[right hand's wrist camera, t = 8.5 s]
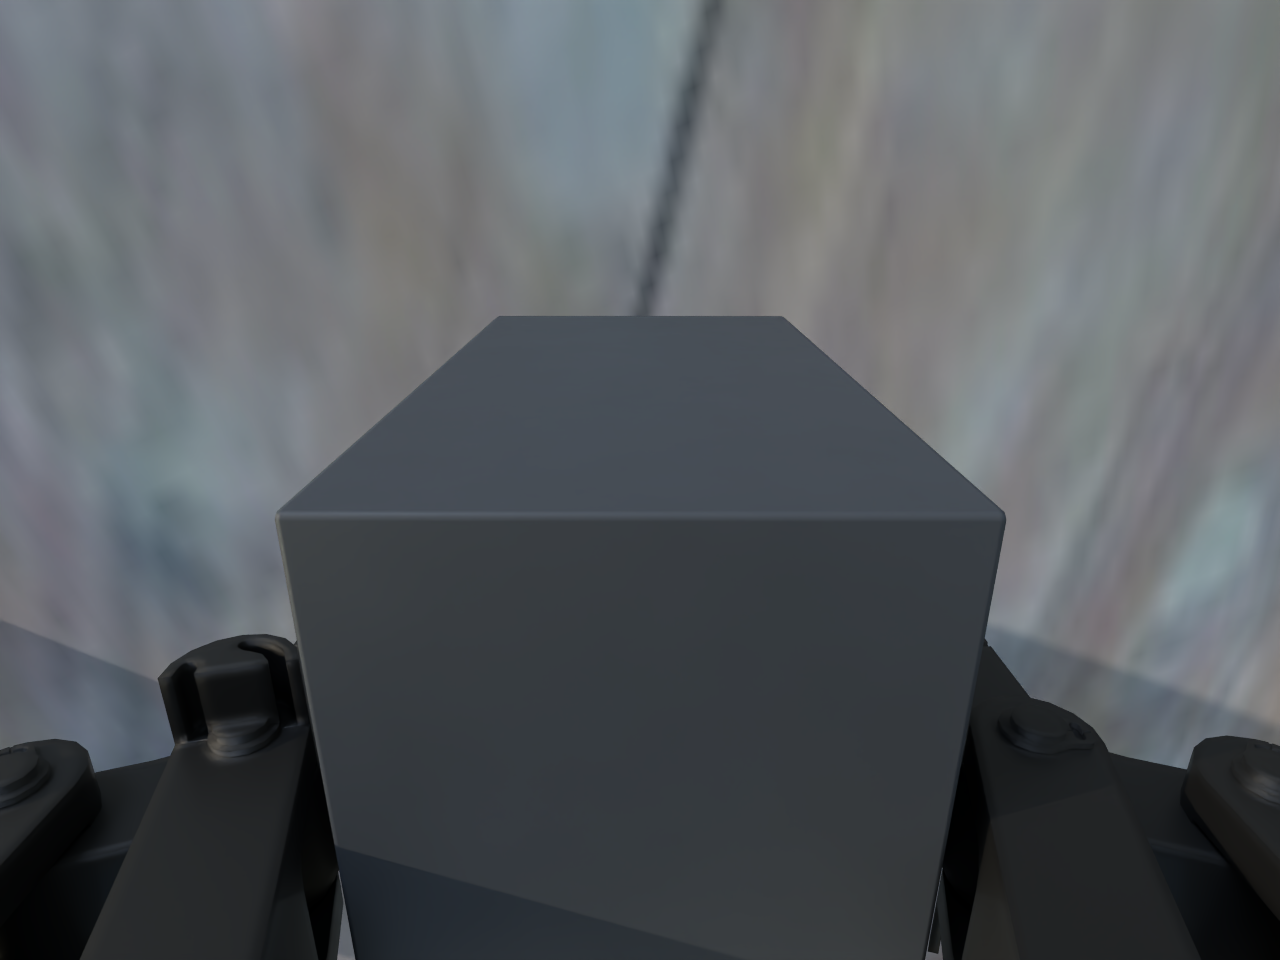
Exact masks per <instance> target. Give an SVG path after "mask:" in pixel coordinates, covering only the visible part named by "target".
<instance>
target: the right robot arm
mask: <svg viewBox="0 0 1280 960" xmlns="http://www.w3.org/2000/svg"><path fill="white" fill-rule="evenodd" d="M158 681H159V685H160V689H161V693H162V696H163V700H164V704H165V708H166V712H167V715H168V719H169V723H170V727H171V731H172V734H173V738H174V742H175V747H174V749H173V751H172V753H171V756H168V757H165V758H161V759H157V760H154V761H149V762H144V763H139V764H134V765H130V766H125V767H120V768H115V769H110V770H106V771H101V772H96V773H95V772H94V769H93V766H92V763H91V760H90V757H89V753H88V751H87V750H86V749H85V748H83V747H82V746H81V745H80V744H78V743H77V742H74V741H67V740H59V739H50V740H43V741H35V742H27V743H23V744H19V745H15V746H13V747H11V748H10V747H8V748H5V749H2V750H0V960H337V955H338V946H339V937H340V928H341V919H342V910H343V898H342V891H341V885H340V880H339V874H338V871H339V866H338V861H337V855H336V850H335V845H334V839H333V834H332V828H331V823H330V817H329V812H328V806H327V801H326V795H325V790H324V785H323V779H322V774H321V768H320V763H319V757H318V752H317V746H316V741H315V735H314V730H313V725H312V719H311V714H310V708H309V703H308V697H307V692H306V686H305V681H304V675H303V670H302V664H301V659H300V654H299V648H298V643H297V641H296V642H295V644H294V645H293V644H292V643H291V642H290V641H288V640H287V639H286V638H282V637H277V636H273V635H268V634H258V635H241V636H236V637H231V638H227V639H222V640H217V641H215V642H212V643H209V644H207V645H204V646H202V647H199V648H197V649H194V650H192V651H190V652H188V653H187V654H185V655H184V656H182V657H181V658H179V659H177V660H176V661H174V662H173V663H171V664H170V665H169V666H168V667H167V668H166V670H165V671H164V672H163V673H162V674H161V675H160V676H159V678H158ZM942 868H943V869H942V874H941V880H940V885H939V890H938V896H937V901H936V907H935V912H934V918H933V923H932V928H931V934H930V940H929V947H928V952H933V953H937V954H938V952H939V946H940V941H941V944H942V953H943V960H1280V746H1278V745H1275V744H1269V743H1268V742H1265V741H1260V740H1256V739H1249V738H1242V737H1234V736H1220V737H1213V738H1206V739H1204V740H1203V741H1202V742H1200V743H1199V744H1198V745H1197V746H1195V747H1194V749H1193V752H1192V756H1191V759H1190V762H1189V765H1188V768H1187V770H1186V769H1181V768H1177V767H1172V766H1167V765H1162V764H1157V763H1152V762H1148V761H1143V760H1138V759H1133V758H1128V757H1124V756H1121V755H1117V754H1113V753H1110V752H1108V750H1107V747H1106V745H1105V743H1104V742H1103V741H1102V739H1101V738H1100V737H1099V735H1098V734H1097V733H1096V731H1095V730H1094V729H1093V728H1092V727H1091V726H1090V725H1088V724H1087V723H1086V722H1084V721H1083V720H1082V719H1080V718H1079V717H1077V716H1076V715H1075V714H1073V713H1071V712H1069V711H1067V710H1065V709H1062V708H1060V707H1058V706H1056V705H1053V704H1051V703H1049V702H1045V701H1041V700H1037V699H1033V698H1030V697H1029V695H1028V694H1027V693H1026V692H1025V690H1024V689H1023V688H1022V686H1021V685H1020V684H1019V682H1018V681H1017V680H1016V679H1015V677H1014V676H1013V675H1012V673H1011V672H1010V671H1009V669H1008V668H1007V667H1006V666H1005V664H1004V663H1003V662H1002V660H1001V659H1000V658H999V656H998V655H997V654H996V653H995V651H994V650H993V649H992V647H988V645H987V641H986V640H985V638H984V643H983V649H982V654H981V659H980V665H979V670H978V676H977V681H976V686H975V692H974V697H973V703H972V708H971V713H970V719H969V724H968V730H967V735H966V740H965V746H964V751H963V757H962V762H961V767H960V773H959V778H958V784H957V789H956V794H955V800H954V805H953V811H952V816H951V821H950V827H949V832H948V838H947V843H946V848H945V854H944V859H943V865H942Z"/></svg>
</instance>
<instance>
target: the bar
mask: <svg viewBox="0 0 1280 960" xmlns="http://www.w3.org/2000/svg"><path fill="white" fill-rule="evenodd" d="M275 523H276V528H277V534H278V539H279V544H280V550H281V555H282V561H283V566H284V572H285V577H286V583H287V588H288V594H289V599H290V604H291V610H292V615H293V621H294V626H295V632H296V637H297V643H298V648H299V654H300V659H301V664H302V670H303V675H304V681H305V686H306V692H307V697H308V703H309V708H310V714H311V719H312V725H313V730H314V735H315V741H316V746H317V752H318V757H319V763H320V768H321V774H322V779H323V785H324V790H325V795H326V801H327V806H328V812H329V817H330V823H331V828H332V834H333V839H334V845H335V850H336V855H337V861H338V866H339V872H340V877H341V883H342V888H343V894H344V899H345V905H346V910H347V916H348V921H349V926H350V932H351V937H352V943H353V948H354V954H355V959H356V960H925V956H926V951H927V946H928V940H929V935H930V929H931V924H932V919H933V913H934V908H935V902H936V897H937V892H938V886H939V881H940V875H941V870H942V865H943V859H944V854H945V848H946V843H947V838H948V832H949V827H950V821H951V816H952V811H953V805H954V800H955V794H956V789H957V784H958V778H959V773H960V767H961V762H962V757H963V751H964V746H965V740H966V735H967V730H968V724H969V719H970V713H971V708H972V703H973V697H974V692H975V686H976V681H977V676H978V670H979V665H980V659H981V654H982V649H983V643H984V638H985V632H986V627H987V622H988V616H989V611H990V605H991V600H992V595H993V589H994V584H995V578H996V573H997V568H998V562H999V557H1000V551H1001V546H1002V541H1003V535H1004V530H1005V524H1006V516H1005V513H1004V511H1002V510H1001V509H1000V508H999V507H998V506H997V505H996V504H995V503H993V502H992V501H991V500H990V499H989V498H988V497H987V496H985V495H984V494H983V493H982V492H981V491H980V490H979V489H978V488H976V487H975V486H974V485H973V484H972V483H971V482H970V481H969V480H967V479H966V478H965V477H964V476H963V475H962V474H961V473H959V472H958V471H957V470H956V469H955V468H954V467H953V466H952V465H950V464H949V463H948V462H947V461H946V460H945V459H944V458H942V457H941V456H940V455H939V454H938V453H937V452H936V451H935V450H933V449H932V448H931V447H930V446H929V445H928V444H927V443H925V442H924V441H923V440H922V439H921V438H920V437H919V436H918V435H916V434H915V433H914V432H913V431H912V430H911V429H910V428H908V427H907V426H906V425H905V424H904V423H903V422H902V421H901V420H899V419H898V418H897V417H896V416H895V415H894V414H893V413H892V412H890V411H889V410H888V409H887V408H886V407H885V406H884V405H882V404H881V403H880V402H879V401H878V400H877V399H876V398H875V397H873V396H872V395H871V394H870V393H869V392H868V391H867V390H865V389H864V388H863V387H862V386H861V385H860V384H859V383H858V382H856V381H855V380H854V379H853V378H852V377H851V376H850V375H848V374H847V373H846V372H845V371H844V370H843V369H842V368H841V367H839V366H838V365H837V364H836V363H835V362H834V361H833V360H832V359H830V358H829V357H828V356H827V355H826V354H825V353H824V352H822V351H821V350H820V349H819V348H818V347H817V346H816V345H815V344H813V343H812V342H811V341H810V340H809V339H808V338H807V337H805V336H804V335H803V334H802V333H801V332H800V331H799V330H798V329H796V328H795V327H794V326H793V325H792V324H791V323H790V322H788V321H787V320H786V319H785V318H784V317H782V316H499V317H497V318H496V319H495V320H493V321H492V322H491V323H490V324H489V325H488V326H487V327H486V328H484V329H483V330H482V331H481V332H480V333H479V334H478V335H476V336H475V337H474V338H473V339H472V340H471V341H470V342H469V343H467V344H466V345H465V346H464V347H463V348H462V349H461V350H459V351H458V352H457V353H456V354H455V355H454V356H453V357H452V358H450V359H449V360H448V361H447V362H446V363H445V364H444V365H442V366H441V367H440V368H439V369H438V370H437V371H436V372H435V373H433V374H432V375H431V376H430V377H429V378H428V379H427V380H425V381H424V382H423V383H422V384H421V385H420V386H419V387H418V388H416V389H415V390H414V391H413V392H412V393H411V394H410V395H408V396H407V397H406V398H405V399H404V400H403V401H402V402H401V403H399V404H398V405H397V406H396V407H395V408H394V409H393V410H391V411H390V412H389V413H388V414H387V415H386V416H385V417H384V418H382V419H381V420H380V421H379V422H378V423H377V424H376V425H374V426H373V427H372V428H371V429H370V430H369V431H368V432H367V433H365V434H364V435H363V436H362V437H361V438H360V439H359V440H357V441H356V442H355V443H354V444H353V445H352V446H351V447H350V448H348V449H347V450H346V451H345V452H344V453H343V454H342V455H340V456H339V457H338V458H337V459H336V460H335V461H334V462H333V463H331V464H330V465H329V466H328V467H327V468H326V469H325V470H323V471H322V472H321V473H320V474H319V475H318V476H317V477H316V478H314V479H313V480H312V481H311V482H310V483H309V484H308V485H306V486H305V487H304V488H303V489H302V490H301V491H300V492H299V493H297V494H296V495H295V496H294V497H293V498H292V499H291V500H289V501H288V502H287V503H286V504H285V505H284V506H283V507H282V508H280V509H279V510H278V511H277V513H276V517H275Z"/></svg>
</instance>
